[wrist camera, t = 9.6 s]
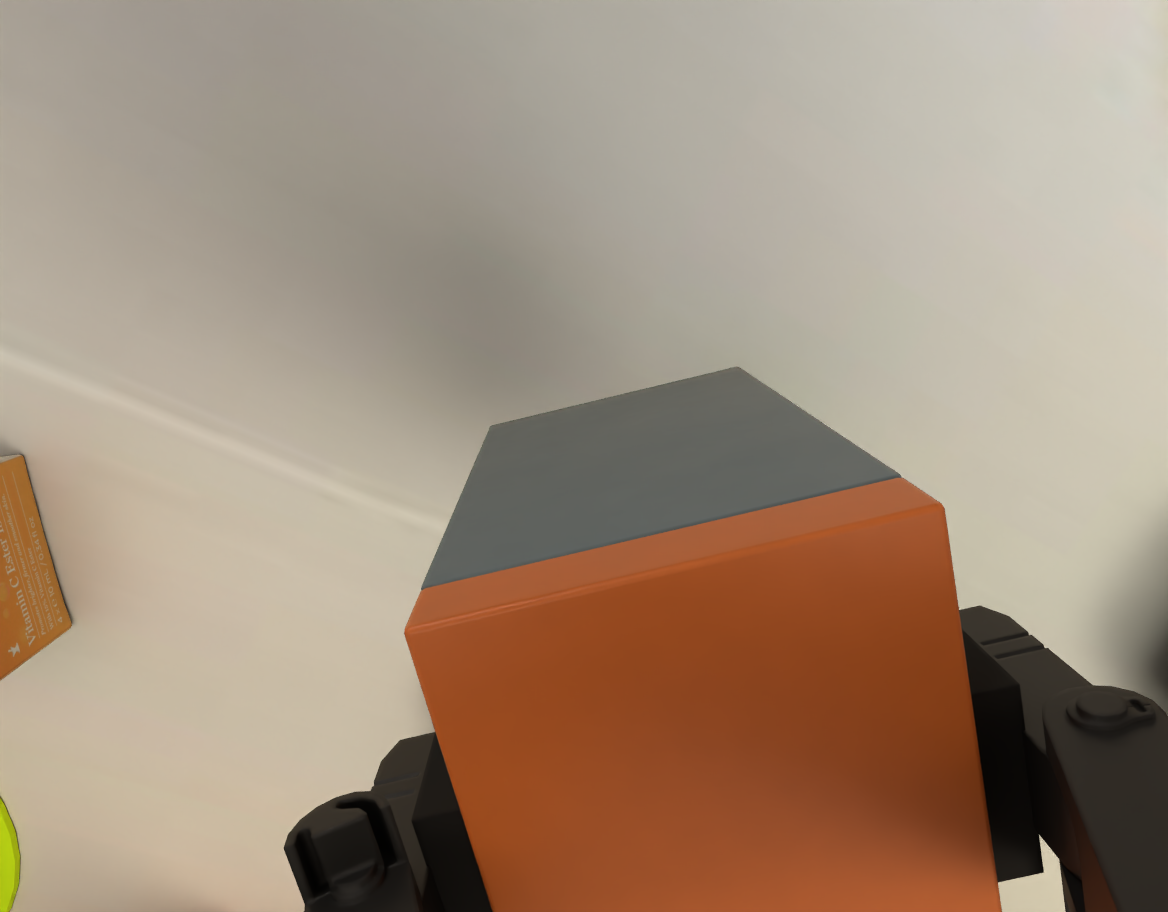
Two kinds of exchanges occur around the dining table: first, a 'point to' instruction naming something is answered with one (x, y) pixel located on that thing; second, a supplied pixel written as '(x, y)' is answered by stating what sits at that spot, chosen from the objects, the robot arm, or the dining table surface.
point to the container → (703, 666)
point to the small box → (25, 573)
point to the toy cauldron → (8, 861)
